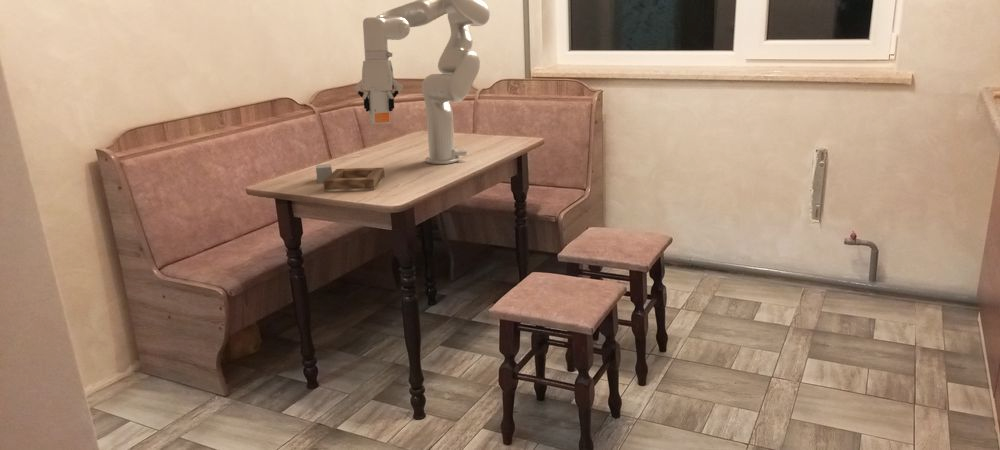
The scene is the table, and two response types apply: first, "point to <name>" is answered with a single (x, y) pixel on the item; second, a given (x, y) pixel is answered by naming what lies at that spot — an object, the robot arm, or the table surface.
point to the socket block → (354, 179)
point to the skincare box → (379, 107)
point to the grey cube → (323, 172)
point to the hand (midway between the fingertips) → (379, 110)
